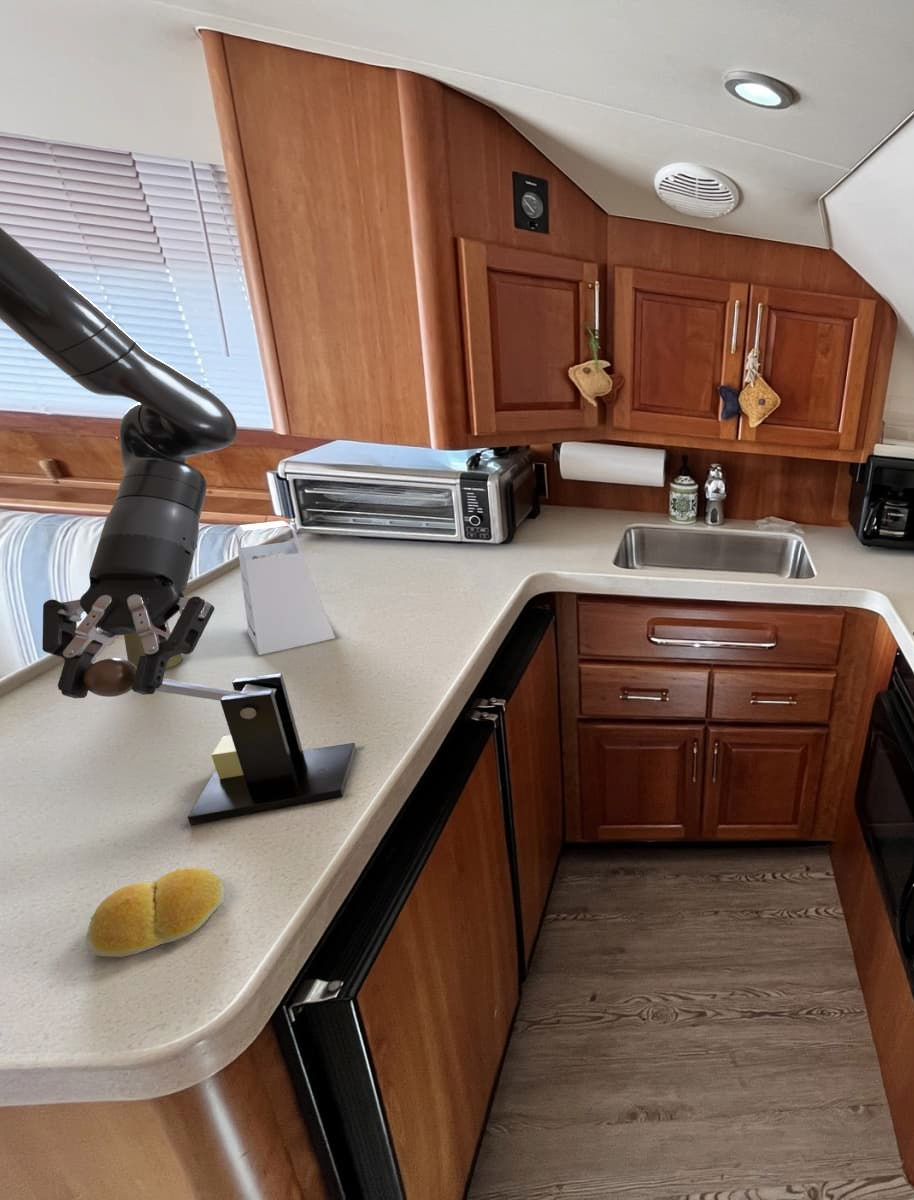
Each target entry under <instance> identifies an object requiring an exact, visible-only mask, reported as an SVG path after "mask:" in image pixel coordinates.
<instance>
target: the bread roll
mask: <svg viewBox="0 0 914 1200" xmlns="http://www.w3.org/2000/svg"><path fill="white" fill-rule="evenodd" d="M224 898H225V887H224V882H223V880H222V879H221V878H220V876H218V875H217V874H216V873H214V872H213V871H211V870H210V869H206V868H199V867H195V868H194V867H189V868H177V869H176V870H173V871H170V872H168V873H165V874H163V875H162V876H160V877H159V878H158V879H156V880H155V881H154V882H148V881H147V882H146V881H145V882H137V883H132V884H129V885H126V886H123V887H121V888H119V889H117V890H115V891H114V892H112V893H111V894H110V895H108V896H106V897H105V898H104V899H103V900H102V901H101V902H100V904H99V905H98V907H97V908H96V909H95V912H94V913H93V915H92V916H91V917H90V918H89V919H90V921H89V924H88V929H87V932H86V941H85V944H86V948H87V950H88V953H89V954H91V955H94V956H99V957H112V958H120V957H121V958H122V957H130V956H133V955H137V954H139V953H143V952H145V951H149V950H150V949H153V948H156V947H157V946H159V945H162V944H168V943H171V942H174V941H178V940H180V939H183V938H185V937H187V936H190V935H191V934H192V933H194V932H195V931H197V930H198V929H199V928H201V927H202V926H203V925H204V924H205V923H206V921H207V920H208V919H209V918H210V917H212V914H213V913H214V912H215V911H216V910H217V909H218V908H219V907H220V906H221V904H223V901H224Z"/></svg>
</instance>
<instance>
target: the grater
mask: <svg viewBox="0 0 914 1200" xmlns="http://www.w3.org/2000/svg"><path fill="white" fill-rule="evenodd" d="M282 527H288V528H291V532H292V537H293V540H294V541H293V540H291V541H282V542H276V543H268V544H267V543H266V544H261V545H260V544H259V545H252V546H243V547H241V543H240V539H239V537H240V536H241V535H242V534H243V533H244V532H245V531H256V530H263V529H274V528H282ZM234 535H235V539H236V543H237V547H238V548H237V553H238V559H239V568H240V569H239V570H240V576H241V577H240V578H241V585H242V595H243V601H244V609H245V618H246V619H245V620H246V626H247V633H248V636H249V637H250V639H251V641H252V644H253V645H254V648H255V650H256V651H257V654H258V655H259V656H261V655H266V654H270V653H271V654H272V653H274V652H279V651H284V650H289V649H292V648H293V649H294V648H297V647H302V646H307V645H311V644H316V643H321V642H325V641H329V640H334V639H336V636H335V633H334V631H333V628H332V626H331V622H330V621H329V618H328V615H327V613H326V612H327V611H326V610H325V608H324V605H323V602H322V600H321V596H320V594H319V592H318V589H317V587H316V583H315V581H314V579H313V576H312V573H311V571H310V568H309V566H308V563H307V560H306V558H305V555H304V552H303V551H302V550H301V548H300V543H299V539H298V536H297V535H298V534H297V530H296V529H295V528H294V527H293V526H292V525H291V524H289V523H288V522H286V521H284V520H276V521H275V520H274V521H267V522H266V521H265V522H258V523H248V524H240V525H239V526H238V527H237V528H236V530H235V531H234ZM279 554H280V555H279ZM281 554H282V555H281ZM271 555H273V556H271ZM262 556H266V557H262ZM254 557H258V558H254Z"/></svg>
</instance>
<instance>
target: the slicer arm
mask: <svg viewBox="0 0 914 1200" xmlns="http://www.w3.org/2000/svg"><path fill="white" fill-rule="evenodd" d="M136 670H137V667H136V666H135V665H134V664H132V663H131V662H129V661H128V659H124V658H117V657H110V658H104V659H101V660H97V661H95V662H93V664H92V665H91V666H90V667H89V668H88V669H87V670H86V671H85V673H84V676H83V682H84V685H85V687H86V688H87V689H88V692H90V693H92V694H93V695H96V696H100V697H104V698H105V697H106V698H112V697H113V698H114V697H119V696H123V695H125V694H127V693H129V692H130V691H133V689H132V685H133V682H134V678H135V674H136ZM269 690H273V693H274V695H275V692H276V689H274V688H268V687H262V686H256V685H250V684H246V685H245V687H244V689H243V690H242V691H237V690H234V689H229V688H224V687H216V686H210V685H204V684H199V683H192V682H186V681H180V680H173V679H168V678H163V682H162V685H161V686H160V687H159V688H158V689H156V690H155V692H160V693H166V694H174V695H181V696H186V697H193V698H200V699H206V700H213V701H219V702H220V700H221V698H222V697H223V696H228V695H236V694H244V693H253V692H261V691H269Z"/></svg>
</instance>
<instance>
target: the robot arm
mask: <svg viewBox="0 0 914 1200" xmlns="http://www.w3.org/2000/svg"><path fill="white" fill-rule="evenodd" d="M0 320H1V322H3V323H4V324H5V325H6V326H7V327H9V328H10V329H11V330H12V331H13V332H14V333H16V334H17V335H18V336H19V337H20V338H21V339H23V340H24V341H25V342H27V344H29V345H30V346H31V347H32V348H34V349H35V350H36V351H37V352H38V353H40V354H41V355H42V356H43V357H45V358H46V359H47V360H48V361H50V362H51V363H52V364H53V365H54V366H56V367H57V368H58V369H60V370H61V371H62V372H63V373H65V374H66V375H67V376H69V378H71V379H72V380H73V381H74V382H76V383H77V384H78V385H80V386H81V387H83V388H84V389H85V390H87V391H89V392H91V393H93V394H95V395H100V396H105V397H120V398H121V397H122V398H126V399H131V400H132V401H135V402H137V403H136V404H134V405H132V406H131V407H129V409H128V410H127V411H126V412H125V414H124V416H123V417H122V419H121V422H120V424H119V444H120V457H121V463H122V464H121V465H122V468H123V474H122V477H121V479H120V483H119V487H118V489H117V493H116V496H115V498H114V499H115V500H114V503H113V504H112V507H111V509H110V511H109V513H108V514H107V516H106V518H105V521H104V523H103V527H102V531H101V533H100V537H99V539H98V542H97V545H96V546H97V547H96V549H95V553H94V555H93V556H94V557H93V560H92V563H91V566H90V570H89V574H88V575H89V587H88V589H87V590H86V591H85V593H83V595H81V596H80V599H75V600H69V601H62V602H61V601H59V600H57V599H49V600H46V601H45V602H43V606H42V647H41V648H42V651H43V652H45V653H47V654H50V655H52V656H56V657H58V658H61V659H63V660H64V661H63V662H64V663H63V666H62V669H61V673H60V676H59V680H58V682H57V688H58V690H59V691H61V692H60V693H61V695H63V696H65V697H68V698H71V699H84V698H86V697H87V696H88V693H89V690H88V689H87V688H86V687H85V685H84V682H83V676H84V673H85V671H86V670H87V669H88V668H89V667H90V666H91V665H92V664H94V663H95V662H96V660H97V659H98V657H99V656H100V655H101V653H103V651H104V650H105V648H107V647H109V646H112V645H113V644H114V643H115V641H116V640H117V639H118V638H119V636H124V635H126V634H130V633H137V634H138V635H139V636H140V638H141V641H142V645H143V649H144V652H145V653H146V655H145V656H140V658H139V662H138V666H137V670H136V674H135V678H134V682H133V685H132V691H133V692H135V693H137V694H140V695H153V694H155V692H156V691H155V690H156V689H158V688H159V687H160V686H161V685H162V682H163V679H165V678H164V677H165V674H166V670H167V669H166V666H167V662H168V660H169V659H171V658H172V657H173V656H176V655H179V654H181V655H182V654H183V655H190V654H192V653H193V652H194V650H195V649H196V647H197V644H198V643H199V641H200V639H201V637H202V635H203V633H204V631H205V629H206V627H207V625H208V623H209V621H210V619H211V617H212V615H213V613H214V611H215V606H214V605H213V604H212V603H210V602H209V601H207V600H206V599H204V598H201V597H200V596H192V597H185V595H184V591H185V590H186V589H187V585H188V582H189V578H190V574H191V569H192V565H193V563H194V557H195V553H196V550H197V549H198V541H199V536H200V535H199V533H200V519H201V516H202V511H203V507H204V503H205V498H206V496H207V495H206V494H207V487H208V486H207V485H208V484H207V480H206V477H205V475H203V473H202V472H201V471H200V470H199V469H197V468H196V467H194V466H192V465H191V464H189V463H186V462H187V460H188V458H189V457H192V456H198V455H201V454H207V453H211V452H217V451H221V450H223V449H225V448H228V447H229V446H231V445H232V444H233V443H234V442H235V441H236V438H237V436H238V427H237V422H236V419H235V417H234V415H233V413H232V412H231V411H230V410H229V408H228V407H227V406H226V404H225V403H224V402H223V401H222V400H221V399H220V398H219V397H218V396H216V395H215V394H214V393H213V392H211V391H210V390H208V389H207V388H206V387H204V386H202V385H200V383H197V382H196V381H194V380H193V379H191V378H190V377H188V376H187V375H185V374H183V373H182V372H180V371H178V370H177V369H175V368H174V367H172V366H170V365H169V364H167V363H165V362H164V361H162V360H160V359H158V358H157V357H155V356H153V355H152V354H150V353H149V352H147V351H146V350H145V349H143V347H141V346H140V344H138V343H137V342H136V341H135V340H134V339H133V338H132V337H131V336H130V335H128V334H127V333H126V332H125V331H124V330H123V329H122V328H121V327H120V326H119V325H118V324H117V323H115V322H114V321H113V320H112V319H111V318H110V317H109V316H107V315H106V313H104V312H103V311H102V310H101V309H100V308H98V306H97V305H96V304H94V303H93V302H92V301H91V300H89V299H88V298H87V297H86V296H84V295H83V293H81V292H80V291H79V290H77V289H76V288H75V287H74V286H73V285H72V284H70V283H69V282H68V281H67V280H65V279H64V278H63V277H61V276H60V275H59V274H58V273H57V272H55V271H54V270H53V269H52V268H50V267H49V266H48V265H47V264H45V263H44V262H43V261H42V260H40V259H39V258H38V257H37V256H36V255H34V254H33V253H32V252H31V251H29V250H28V249H27V248H25V247H24V246H23V245H22V244H21V243H19V242H18V241H17V240H16V239H15V238H13V236H11V235H10V234H9V233H8V232H6V231H5V229H3V228H2V227H1V226H0ZM84 612H85V614H86V616H85V617H84V619H83V618H82V617H81V616H82V614H83V613H84ZM178 612H179V617H178V619H177V621H176V623H175V625H174V627H173V629H172V630H170V626H169V623H168V621H169V620H170V619H171V618H173V617H174V616H175V615H176V614H177V613H178ZM82 619H83V620H82ZM79 622H80V623H79ZM77 623H79V625H78V624H77ZM77 625H78V626H77ZM97 629H98V630H100V631H102V632H101V633H98V631H97Z"/></svg>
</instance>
